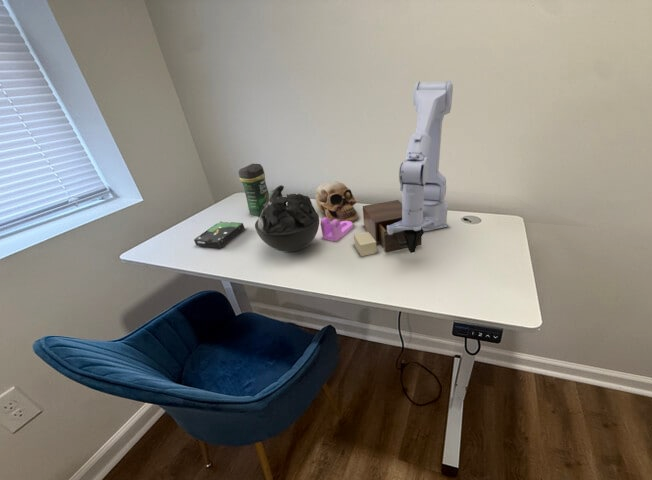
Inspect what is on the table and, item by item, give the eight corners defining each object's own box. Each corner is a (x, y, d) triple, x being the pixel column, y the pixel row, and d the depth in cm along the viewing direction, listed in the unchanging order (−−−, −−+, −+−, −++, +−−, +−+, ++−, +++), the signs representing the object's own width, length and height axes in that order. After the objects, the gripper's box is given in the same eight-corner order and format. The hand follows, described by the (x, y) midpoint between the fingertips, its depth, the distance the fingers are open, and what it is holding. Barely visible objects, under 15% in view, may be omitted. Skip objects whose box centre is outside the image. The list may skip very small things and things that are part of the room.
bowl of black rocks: (312, 265, 97) (300, 206, 86) (252, 262, 101) (233, 205, 89) (330, 234, 113) (322, 181, 101) (278, 232, 116) (264, 180, 105)
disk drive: (221, 249, 109) (245, 229, 120) (218, 242, 107) (243, 222, 118) (196, 246, 111) (221, 227, 122) (192, 239, 109) (219, 220, 120)
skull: (355, 223, 119) (348, 187, 111) (312, 225, 123) (302, 191, 115) (364, 207, 131) (358, 174, 123) (325, 210, 135) (317, 178, 128)
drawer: (427, 252, 98) (429, 234, 94) (390, 260, 96) (390, 242, 92) (405, 228, 112) (405, 211, 108) (372, 234, 110) (371, 217, 106)
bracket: (336, 241, 109) (333, 222, 104) (322, 238, 111) (319, 220, 107) (355, 225, 117) (354, 207, 113) (343, 223, 120) (340, 205, 115)
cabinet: (413, 236, 109) (414, 215, 104) (376, 244, 106) (374, 222, 101) (398, 220, 120) (398, 199, 115) (364, 226, 117) (362, 205, 112)
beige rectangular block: (369, 242, 107) (368, 231, 105) (376, 252, 101) (376, 241, 99) (354, 245, 106) (353, 234, 103) (361, 256, 100) (360, 245, 98)
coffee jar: (263, 217, 127) (250, 169, 116) (247, 215, 130) (232, 168, 118) (277, 207, 135) (265, 162, 123) (261, 206, 137) (248, 161, 125)
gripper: (392, 217, 81) (393, 262, 90) (443, 208, 84) (440, 252, 93) (383, 207, 87) (385, 251, 95) (432, 198, 90) (429, 241, 98)
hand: (411, 251), depth 94 cm, fingers closed, pressing on drawer
